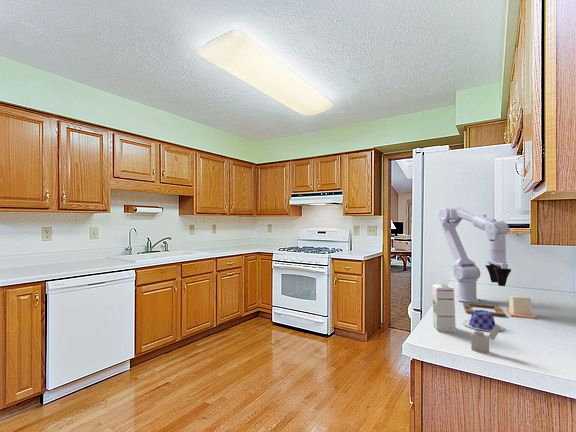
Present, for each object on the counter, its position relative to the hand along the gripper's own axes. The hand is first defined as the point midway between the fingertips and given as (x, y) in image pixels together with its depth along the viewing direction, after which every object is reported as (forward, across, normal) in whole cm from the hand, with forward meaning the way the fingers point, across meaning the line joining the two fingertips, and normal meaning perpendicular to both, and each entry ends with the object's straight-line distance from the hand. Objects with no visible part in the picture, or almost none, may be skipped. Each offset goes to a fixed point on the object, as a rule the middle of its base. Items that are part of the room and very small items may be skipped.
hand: (498, 284), depth 129 cm
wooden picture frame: (+10, +3, -7) cm, 13 cm away
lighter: (+11, +47, -19) cm, 52 cm away
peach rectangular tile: (+10, +5, +6) cm, 13 cm away
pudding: (+11, +24, -13) cm, 29 cm away
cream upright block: (+10, +5, +6) cm, 12 cm away
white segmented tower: (+11, +30, -26) cm, 41 cm away
